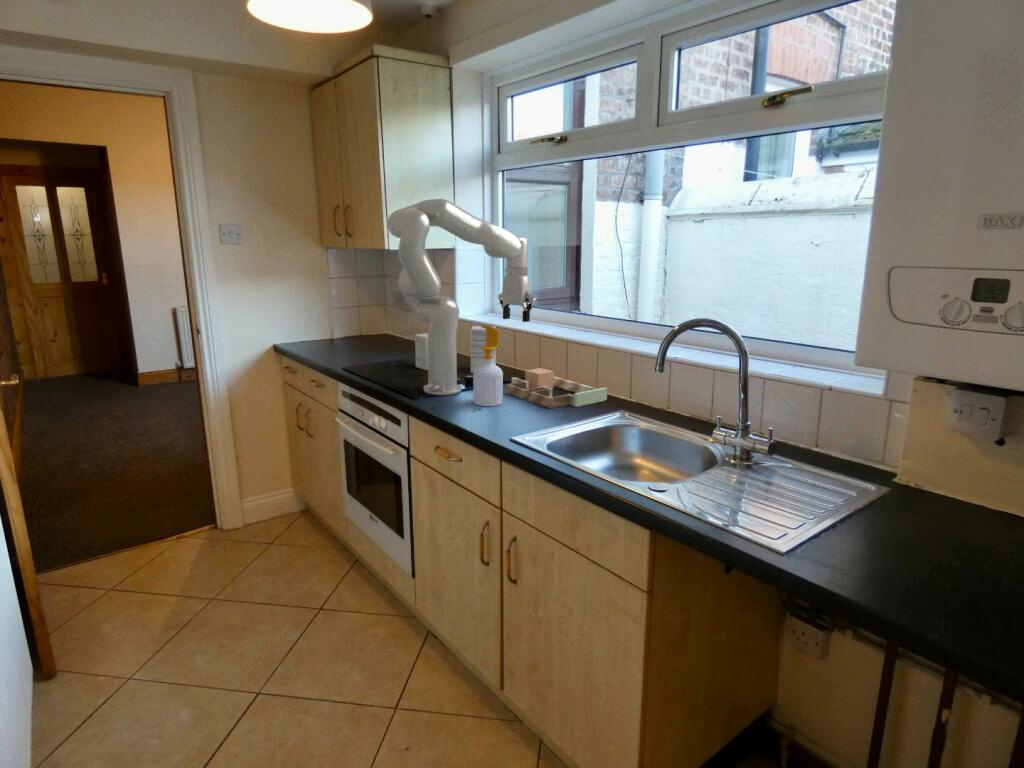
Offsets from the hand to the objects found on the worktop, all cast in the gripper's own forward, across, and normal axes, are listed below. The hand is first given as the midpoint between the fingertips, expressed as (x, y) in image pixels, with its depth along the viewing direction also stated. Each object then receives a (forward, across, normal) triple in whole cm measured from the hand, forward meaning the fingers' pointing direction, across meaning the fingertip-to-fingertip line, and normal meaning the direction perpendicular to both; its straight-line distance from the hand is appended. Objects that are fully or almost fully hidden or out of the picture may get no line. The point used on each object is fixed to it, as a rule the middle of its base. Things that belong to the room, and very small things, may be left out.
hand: (516, 320), depth 226 cm
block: (+21, +16, -5) cm, 27 cm away
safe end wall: (+21, +41, -9) cm, 47 cm away
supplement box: (+22, -16, 0) cm, 27 cm away
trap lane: (+21, +24, -10) cm, 34 cm away
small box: (+22, -35, -12) cm, 43 cm away
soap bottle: (+22, +18, -32) cm, 42 cm away
